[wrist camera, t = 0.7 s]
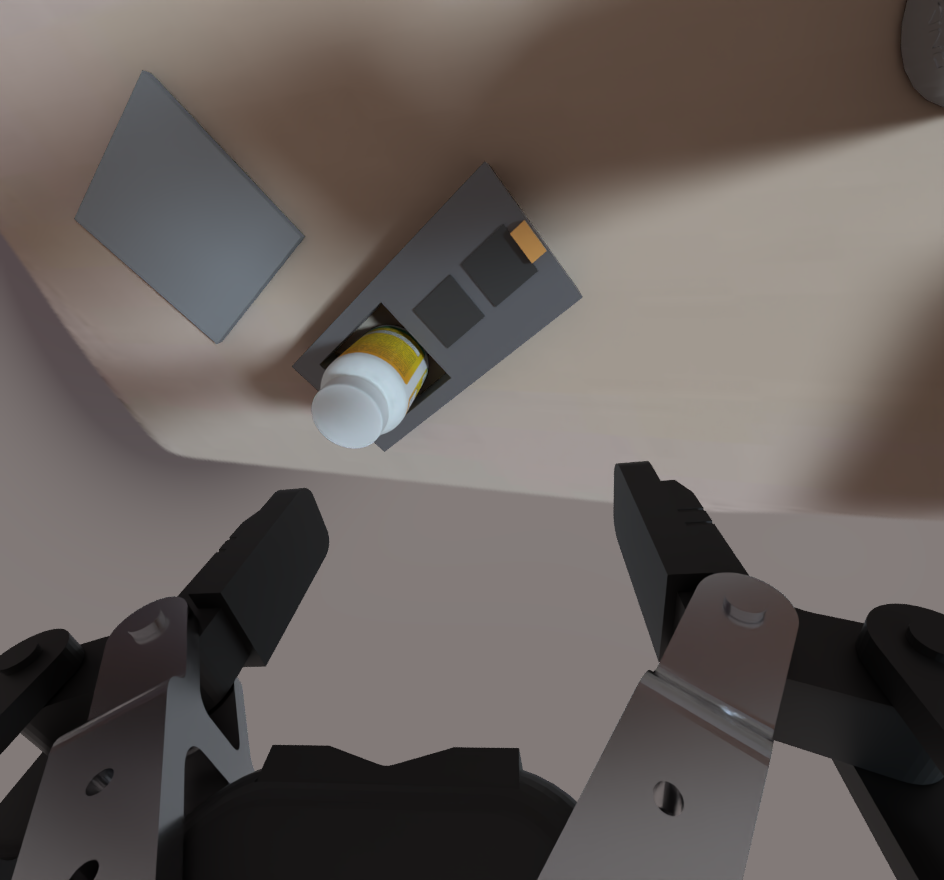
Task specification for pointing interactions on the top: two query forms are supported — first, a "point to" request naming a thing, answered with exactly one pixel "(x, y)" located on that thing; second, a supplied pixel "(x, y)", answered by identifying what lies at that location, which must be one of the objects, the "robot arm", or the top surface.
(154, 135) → the charging mat
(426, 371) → the supplement bottle
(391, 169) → the top surface
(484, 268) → the gray slotted block
